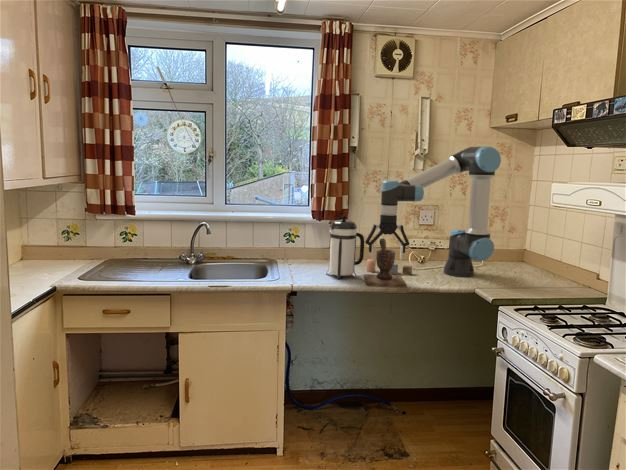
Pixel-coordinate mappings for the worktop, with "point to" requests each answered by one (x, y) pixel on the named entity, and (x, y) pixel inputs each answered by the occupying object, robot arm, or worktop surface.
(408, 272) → the dark oak block
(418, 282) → the worktop surface
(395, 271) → the slate grey cube
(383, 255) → the mortar and pestle
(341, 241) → the coffee press
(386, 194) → the robot arm
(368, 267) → the terracotta capsule
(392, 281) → the walnut board
